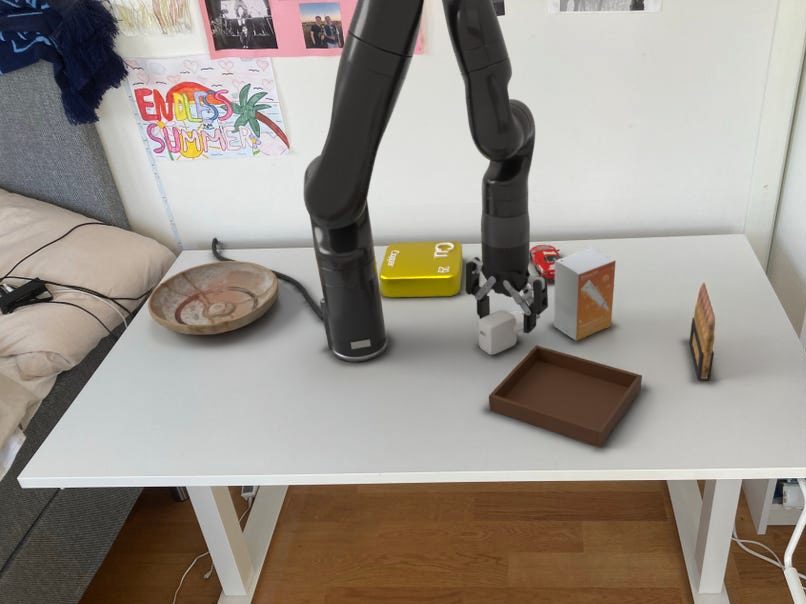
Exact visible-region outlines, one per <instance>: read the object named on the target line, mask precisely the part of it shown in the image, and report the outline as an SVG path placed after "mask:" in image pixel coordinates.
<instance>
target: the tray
mask: <svg viewBox="0 0 806 604" xmlns="http://www.w3.org/2000/svg"><path fill="white" fill-rule="evenodd" d="M642 381H643V375H642V374H639V373H635V372H632V371H628V370H625V369H621V368H618V367H614V366H611V365H607V364H603V363H600V362H597V361H593V360H589V359H586V358H582V357H579V356H576V355H572V354H569V353H565V352H562V351H558V350H555V349H552V348H547V347H545V346H541V345H535V346H534V347H532V349H531V350H530V351H529V352H528V353H526V355H525V356H524V357H523V359H522V360H521V361H520V362H519V363H518V364H516V366H515V367H514V368H513V369H512V370H511V371H510V372H509V374H507V376H506V377H505V378H504V379H503V380H502V381H501V382H500V383H499V384H498V385H497V386H496V387H495V388H494V390H493V391H491V393H490V394H489V395H488V402H489V403H488V405H489V406H488V408H489V411H491V412H494V413H496V414H500V415H503V416H505V417H509V418H510V419H513V420H514V419H515V420H518V421H520V422H523V423H526V424H529V425H532V426H535V427H537V428H540V429H544V430H547V431H550V432H552V433H556V434H559V435H562V436H565V437H568V438H571V439H574V440H576V441H579V442H582V443H586V444H589V445H592V446H594V447H597V448H599V449H600V448H601V449H602V446H603V445H604V444H605V442H606V441H607V440H608V438H609V437H610V435H611V433H613V430H614V429H615V428H616V427H617V425H618V424H619V422H620V421H621V419H622V418H623V416H624V415H625V414H626V413H627V410H628V409H629V408H630V406H631V405H632V403H633V402H635V401H634V400H636V398H637V396H638V395H639V393H640V392H641V390H642Z"/></svg>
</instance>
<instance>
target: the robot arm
mask: <svg viewBox="0 0 806 604" xmlns="http://www.w3.org/2000/svg"><path fill="white" fill-rule="evenodd" d="M441 3H442V9H443V13H444V19H445V23H446V26H447V27H446V29H447V32H448V37H449V41H450V44H451V47H452V51H453V53H454V57H455V60H456V63H457V66H458V70H459V72H460V76H461V79H462V81H463V84H464V93H465V94H464V95H465V107H466V115H467V123H468V129H469V133H470V136H471V139H472V142H473V144H474V146H475V148H476V149H477V151H478V152H479V153H480V155H481V156H482V157H484V158H485V159H486V160H488V161H489V163H488V166H487V168H486V170H485V171H484V173H483V176H482V178H481V217H480V241H481V242H480V243H481V245H480V247H481V259H480V258H479V256H475V257H473V258H471V259H470V260H469V261H468V262H466V264H465V289H464V290H465V293H466V294H467V295H472V296H474V299H475V300H476V313H477V316H479V318H478V319H479V320H480V319H481V318H483V317H485V316H487V315H490V314H491V305H490V296H489V295H488V294H489V293H490V292H491V291H492V290H493V292H494V293H495V294H498V295H504V296H506V297H508V298H512V299H513V301H514V302H515V304H516V305H517V306H518V305H519V306H520V308H521V310H522V311H524V313H525V314H524V321H523V330H522V331H523V334H527V335H529V334H530V333H531V332H532V331H533V330H535V328H536V327H537V319H536V315H540V316H541V314H542V313H543V312H544V311H546V310H547V309H548V307H549V295H548V292H549V291H548V282H547V277H546V276H545V275H541V276H540V277H539V276H535V275H532V274H531V273H530V271H529V266H530V250H531V248H530V242H531V239H530V238H531V237H530V235H531V233H530V231H531V222H530V220H531V219H530V212H529V177H530V172H531V167H532V162H533V156H534V150H535V145H536V144H535V143H536V121H535V118H534V115H533V113H532V110H531V109H530V107H529V106H528V105H527V104H526V103H524V102H523V101H522V100H518V99H514V98H510V95H509V84H510V82H511V79H512V77H513V67H512V63H511V58H510V56H509V52H508V47H507V45H506V42H505V39H504V33H503V31H502V27H501V25H500V21H499V18H498V15H497V11H496V9H495V6H494V3H493V0H441ZM424 5H425V0H357V2H356V5H355V7H354V11H353V12H352V13H353V14H352V16H351V19H350V23H349V26H348V29H347V33H346V36H345V40H344V42H343V43H344V44H343V46H342V51H341V54H340V57H339V62H338V67H337V72H336V77H335V84H334V90H333V98H332V99H333V100H332V106H331V113H330V114H331V116H330V121H329V128H328V132H327V135H326V139H325V142H324V145H323V147H322V150H321V152H320V154H319V155H317V156H316V157H314V159H312V160H311V161H310V162H309V164H308V165H307V167H306V169H305V171H304V175H303V184H302V185H303V188H302V189H303V195H302V197H303V202H304V207H305V209H306V211H307V213H308V215H309V220H310V226H311V233H312V242H313V250H314V255H315V260H316V266H317V270H318V275H319V280H320V287H321V292H322V297H323V298H321V299H320V301H319V305H320V308H319V306H318V304H317V303H316V302H315V301H314V300H313V298H312V297H311V295H310V294H309V292H308V291H307V289H306V288H305V286H303V285H302V284H301V283H300V282H299V281H297V280H296V279H295V278H293V277H291V276H289V275H287V274H284V273H282V272H279V271H276V270H273V269H270V268H268V269H269V270H271V271H272V272H273V273H274V274H275V276H276V277H277V278H280V279H283V280H284V281H287V282H289V283H291V284H293V285H294V286H295V287H296V288H298V290H299V291H300V292H301V294H302V295H303V297H304V298H305V300H306V301H307V302H308V304H309V305H310V306H311V308H312V309H313V312H315V314H316V315H317V316H318V318H319V319H320V320H321V321H323V326H324V331H325V336H326V341H327V348H328V349H329V350H331V351H332V352H333V355H334V356H335V357H336V358H337V359H338V360H339V359H340V360H342V361H344V362H350V363H357V362H366V361H369V360H372V359H375V358H377V357H379V356H381V355H382V354H383V353H384V352H386V350H387V348H388V343H389V342H388V336H387V332H386V326H385V315H384V310H383V304H382V295H381V286H380V279H379V273H378V267H377V259H376V252H375V246H374V245H375V244H374V237H373V230H372V222H371V216H370V210H369V202H368V196H369V192H370V191H369V190H370V186H371V180H372V176H373V172H374V167H375V163H376V158H377V155H378V151H379V148H380V145H381V142H382V140H383V137H384V135H385V132H386V131H387V128H388V125H389V124H390V121H391V119H392V116H393V113H394V111H395V108H396V105H397V103H398V100H399V98H400V95H401V92H402V89H403V87H404V85H405V81H406V80H407V79H406V78H407V76H408V72H409V70H410V67H411V65H412V60H413V58H414V54H415V51H416V47H417V43H418V39H419V35H420V29H421V25H422V19H423V13H424ZM218 242H219V241H218V238H217V237H214V238H213V239H212V242H211V251H212V254H213V257H215V258H216V259H217V260H219V261H220V262H222V261H236V260H235V259H231V258H227V257H225V256H223V255H220V254H219V252H218V251H217V243H218ZM481 274H482V275H483V277H484V279H485V280H486V281H485V282H484V283H483V284H482V286H480V279H481V278H480V277H481ZM529 285H530V286H529ZM521 292H522V295H521V294H520V293H521Z"/></svg>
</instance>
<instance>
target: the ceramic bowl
mask: <svg viewBox="0 0 806 604" xmlns="http://www.w3.org/2000/svg"><path fill="white" fill-rule="evenodd" d="M269 269H270V268H267V267H266V266H264V265H261V264H258V263H256V262H255V263H254V262H249V261H240V260H235V261H214V262H213V261H212V262H208V263H204V264H199V265H196V266H192V267H189V268H187V269H184V270H182V271H179V272H177V273H176V274H173V275H172V276H170V277H168V278H167V279H165V280H164V281H162V282H161V283H159V284H158V285H157V287H155V288H154V290H152V292H151V294H150V295H149V297H148V301H147V310H148V312H149V315H150V317H151V318H152V319H153V320H154V321H155V322H156V323H157V324H159V325H160V326H162V327H163V328H165V329H167V330H170V331H173V332H176V333H179V334H186V335H195V336H196V335H215V334H216V335H217V334H222V333H226V332H231V331H235V330H238V329H240V328H243V327H245V326H247V325H249V324H251V323H252V322H254V321H256V320H258V319H260V318H261V317H262V316H263V315H265V314H266V313H267V312H268V311H269V309H271V307H272V306H273V305H274V303H275V302H276V300H277V298H278V295H279V292H280V291H279V290H280V283H279V280H278V277H277V276H275V274H274V273H273V272H272V271H271V270H272V269H270V270H269Z"/></svg>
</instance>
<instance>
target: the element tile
mask: <svg viewBox="0 0 806 604" xmlns="http://www.w3.org/2000/svg"><path fill="white" fill-rule="evenodd" d="M463 265H464V258H463V246H462V243H460V242H459V241H457V240H456V241H455V240H454V241H453V240H447V241H445V240H444V241H413V242H412V241H409V242H407V241H405V242H393V243H390V244H389V245H388V246H387V247H386V249H385V253H384V256H383V260H382V263H381V267H380V269H379V270H380V271H379V273H378V278H379V286H380V293H381V294H382V296H384V297H386V298H390V299H391V298H393V299H394V298H430V297H434V298H435V297H436V298H437V297H452V296H455V295H457V294H458V293H459V292H460V290H461V283H462V276H463Z"/></svg>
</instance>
